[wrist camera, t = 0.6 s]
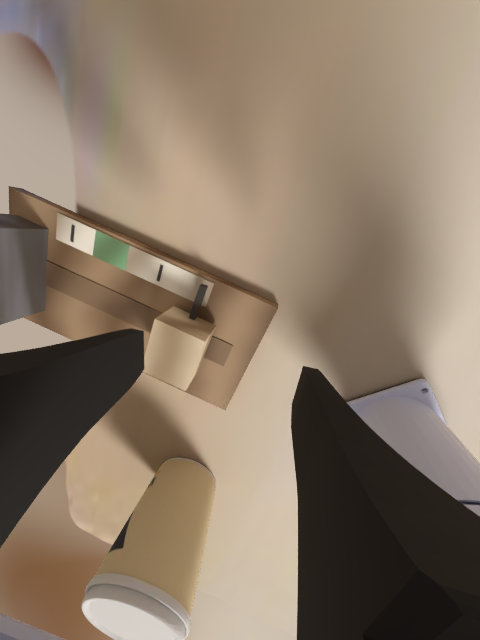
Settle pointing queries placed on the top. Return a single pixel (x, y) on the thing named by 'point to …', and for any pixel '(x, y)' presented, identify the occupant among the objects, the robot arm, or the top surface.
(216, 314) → the gauge base
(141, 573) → the coffee cup
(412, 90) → the top surface
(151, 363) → the gauge slider
